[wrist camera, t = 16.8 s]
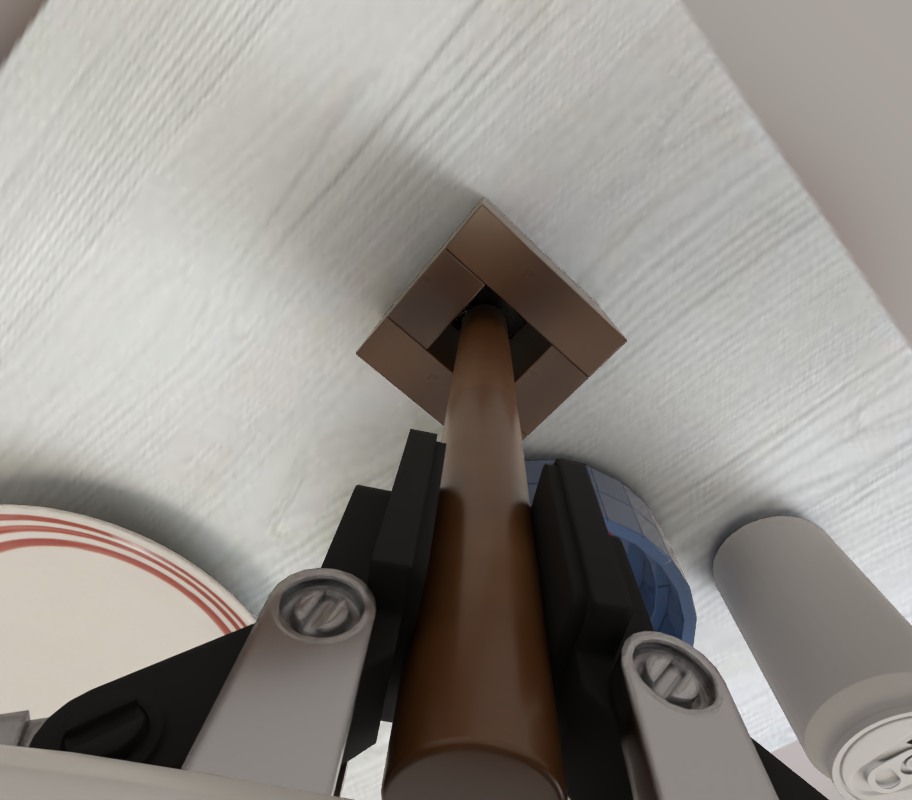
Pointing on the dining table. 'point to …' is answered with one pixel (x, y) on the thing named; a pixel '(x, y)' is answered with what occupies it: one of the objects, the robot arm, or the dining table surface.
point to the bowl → (640, 552)
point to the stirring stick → (479, 608)
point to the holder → (524, 289)
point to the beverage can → (825, 651)
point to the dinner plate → (94, 606)
